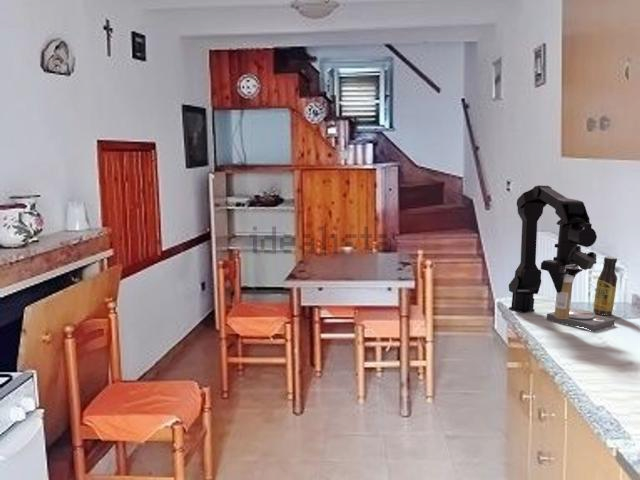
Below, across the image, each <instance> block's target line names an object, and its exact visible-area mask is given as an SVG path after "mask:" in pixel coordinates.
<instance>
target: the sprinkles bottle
mask: <svg viewBox="0 0 640 480" xmlns="http://www.w3.org/2000/svg"><path fill="white" fill-rule="evenodd" d="M574 280H575V278H574V276H572V275H568V274H567V275H566V276H564V280H563V285H562V289H561V292H560V293H558V292H557V291H556V297H555V309H554V312H555V314H554V317H556V318H558V319H569V312H570V308H571V303H572V291H573V284H574Z"/></svg>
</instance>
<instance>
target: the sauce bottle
mask: <svg viewBox="0 0 640 480" xmlns="http://www.w3.org/2000/svg"><path fill="white" fill-rule="evenodd" d="M617 262H618V258H617V257H614V256H604V257H603V268H602V270H601V272H600V274H599V276H598V277H597V278H598V279H597V281H596V288H595V293H594V301H593V309H592V311H593V312H592V313H594V314H595V315H600V314H603V315H602V316H608V315H607V314H611V315H612V314H613V309H614V304H615V297H616V289H617V282H618V277H617V274H616V265H617ZM604 314H606V315H604Z"/></svg>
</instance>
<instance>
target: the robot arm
mask: <svg viewBox="0 0 640 480" xmlns="http://www.w3.org/2000/svg"><path fill="white" fill-rule="evenodd" d="M547 205H549V207H552V208H553V209H554V210H555V211H554V213H555V214H556V216H557V217H558V218H559V220H557V222H556V225H558V227H559V228H558V229H559V231H558V238H557V243H554V248H556V256H554V257H553V259H546V260H545V259H544V260H543V261H542V262H541V263H540V269H539V268H538V266H537V263H536V261H537V260H536V259H537V239H538V238H537V237H538V234H537V233H538V221H539V220H540V218H541V217H542V215H543V214H544V208H545V207H546V206H547ZM516 208H517V214H518V216H519V218H520V221H521V222H522V223H521V239H520V240H521V243H520V245H521V247H520V263H519V264H518V266H517V268H516V269H515V271H514V277H513V278H512V280H511V281H510V283H509V284H508V291H509V292H510V293H512V298H511V306H510V307H508V310H511V311H515V312H520V313H523V314H526V313H530V312H534V311H535V310H536V309H535V308H534V305H535V298H534V296H535V295H538V294H539V291H540V288H541V285H542V271H547V272H548V274H549V275H550V278H551V280H552V283H553V286H554V288H555V292H556V293H557V292H558V293H560V292H561V289H562V285H563V280H564V276H566V275H567V274H568V275H572V276H574V279H575V277H576V276H577V275H578V274H579V273H581V272H582V271H583V270H584V271H587V270H592V268H593V267H594V265H595V264H597V253H595V252H593V251H589V252H588V253H586V252H583V251H582V247H585V248H588V247H592V246H593V245H594V244H596V242H597V237H598V235H597V232H596V231H595V229H594V228H592V223H591V222H590V217H589V214H588V212H587V209H586V205H585V203H584V201H583V200H582V201H581V200H579V199H573V198H567V197H566V196H565V195H562V194H561V193H560V192H558V191H556V190H554V189H553V188H552V187H551V186H549V185H543V184H542V185H539V184H538V185H534V187H533V188H531V189H529V190H527V191H525V192H523V193H522V194H521V195H520V196H518V198H517V201H516ZM534 294H535V295H534Z"/></svg>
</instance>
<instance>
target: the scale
mask: <svg viewBox="0 0 640 480" xmlns="http://www.w3.org/2000/svg"><path fill="white" fill-rule="evenodd" d="M554 314H555V311H554V312H553V311H552V312H548V313H546V319H545V320H547V321H550V322H554V323H557V322H558V323H557V324H561V323H563V324H562V325H565V324H568V325H567V326H569V325H573V326H579V327H584V328H587V329H589V330H591V331H590V332H592V331H593V332H596V331H600V330H602V329H607V328H609V327H610V328H611V327H613V326H612V325H614V326H615V322H616V319H615V318H611V317H606V316H604V315H599V314H594V319H591V320H578V319H571V318H569V319H558V318H556V317H554ZM573 326H572V327H573ZM589 330H588V331H589Z"/></svg>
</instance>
